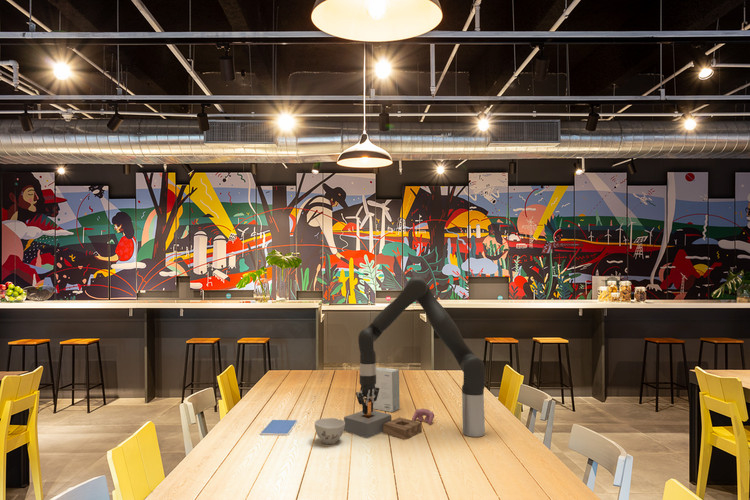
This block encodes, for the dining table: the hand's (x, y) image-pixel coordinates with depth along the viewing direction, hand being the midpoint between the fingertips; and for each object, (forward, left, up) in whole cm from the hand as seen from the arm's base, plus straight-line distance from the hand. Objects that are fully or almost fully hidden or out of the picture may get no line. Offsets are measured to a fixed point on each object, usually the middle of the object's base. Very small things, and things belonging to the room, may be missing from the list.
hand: (367, 412), depth 196 cm
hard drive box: (-29, -15, -8) cm, 34 cm away
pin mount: (-7, +14, -7) cm, 17 cm away
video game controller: (-25, +13, -8) cm, 29 cm away
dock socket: (0, 0, -7) cm, 7 cm away
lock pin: (0, 0, -5) cm, 5 cm away
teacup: (+20, -3, -8) cm, 22 cm away
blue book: (+24, -32, -8) cm, 41 cm away
